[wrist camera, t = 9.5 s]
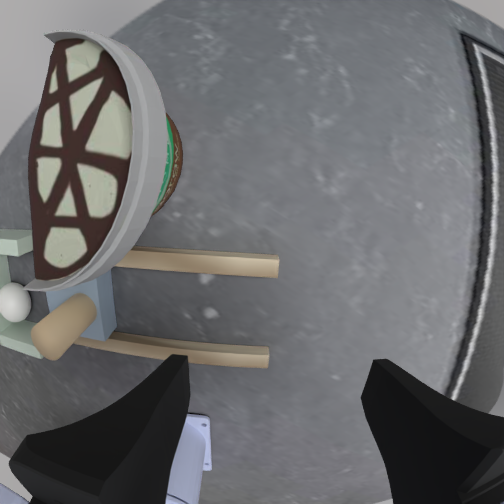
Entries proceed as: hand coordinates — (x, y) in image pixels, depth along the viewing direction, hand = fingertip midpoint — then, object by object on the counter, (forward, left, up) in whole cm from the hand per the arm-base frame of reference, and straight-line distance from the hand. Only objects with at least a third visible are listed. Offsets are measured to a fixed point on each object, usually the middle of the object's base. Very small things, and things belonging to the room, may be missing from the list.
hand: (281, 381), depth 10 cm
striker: (-2, +13, -10) cm, 17 cm away
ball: (-3, +22, -9) cm, 23 cm away
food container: (+8, +8, -11) cm, 16 cm away
